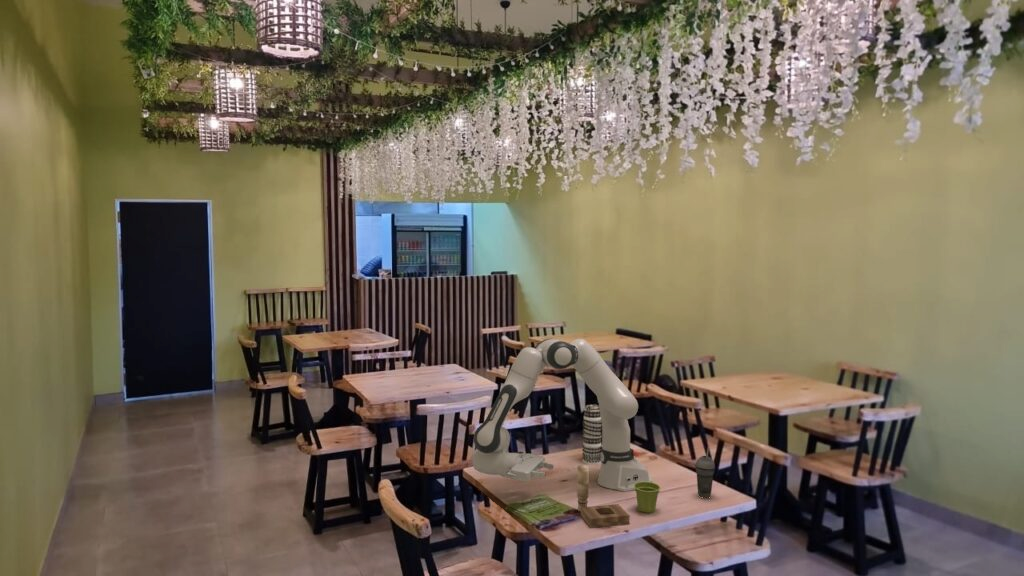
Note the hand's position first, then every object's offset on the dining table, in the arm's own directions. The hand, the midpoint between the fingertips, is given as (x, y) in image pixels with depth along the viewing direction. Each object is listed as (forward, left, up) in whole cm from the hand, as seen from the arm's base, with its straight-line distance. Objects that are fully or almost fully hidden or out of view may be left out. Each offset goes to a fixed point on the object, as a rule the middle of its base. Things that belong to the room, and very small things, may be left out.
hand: (549, 470), depth 232 cm
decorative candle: (-33, -43, -13) cm, 56 cm away
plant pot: (-34, +11, -13) cm, 38 cm away
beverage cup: (-61, +4, -13) cm, 62 cm away
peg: (-11, +7, -13) cm, 18 cm away
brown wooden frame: (-16, +16, -13) cm, 26 cm away
